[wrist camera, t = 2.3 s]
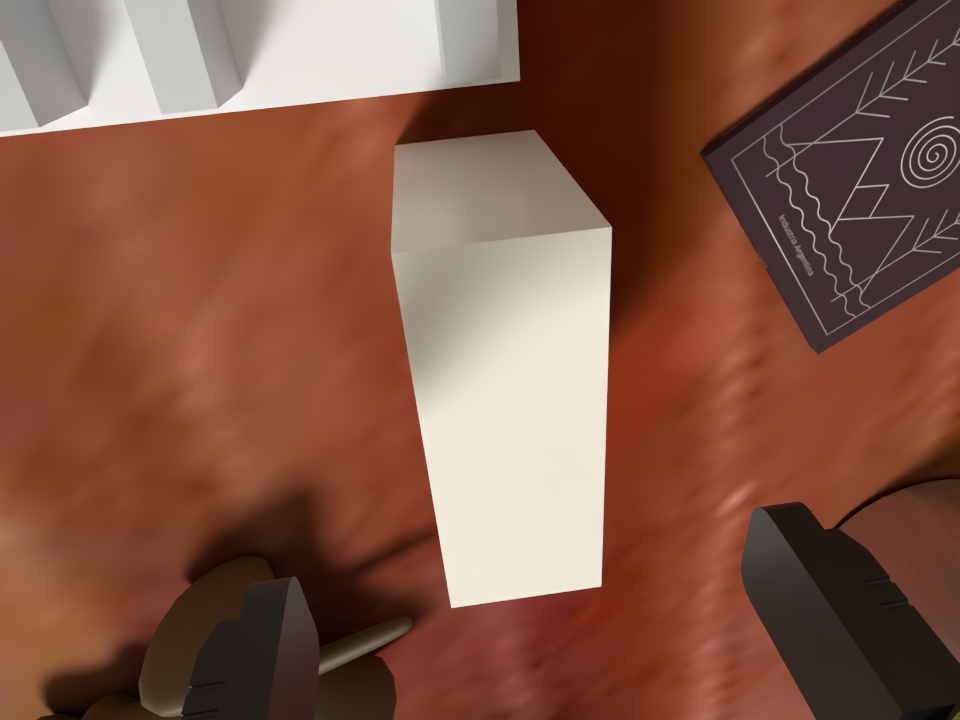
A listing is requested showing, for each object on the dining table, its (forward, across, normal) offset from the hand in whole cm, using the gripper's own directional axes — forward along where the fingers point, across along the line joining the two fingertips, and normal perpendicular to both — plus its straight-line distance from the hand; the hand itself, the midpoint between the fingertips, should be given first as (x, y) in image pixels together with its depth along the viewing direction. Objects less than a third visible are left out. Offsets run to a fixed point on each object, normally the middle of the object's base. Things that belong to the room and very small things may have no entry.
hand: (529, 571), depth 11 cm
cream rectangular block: (+11, 0, 0) cm, 11 cm away
